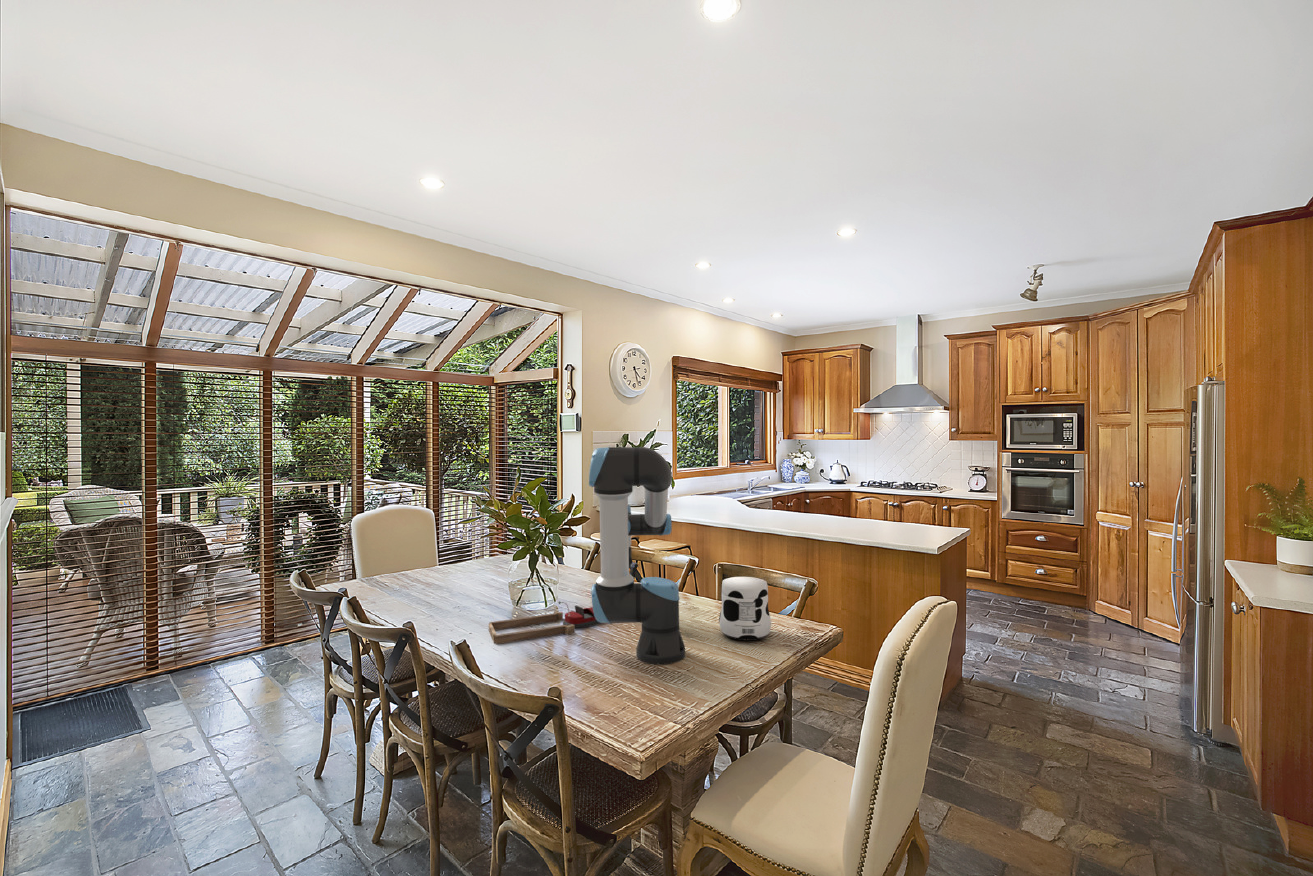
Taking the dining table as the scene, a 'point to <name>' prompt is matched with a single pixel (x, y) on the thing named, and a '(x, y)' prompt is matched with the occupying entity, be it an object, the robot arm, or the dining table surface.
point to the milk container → (745, 608)
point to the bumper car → (580, 617)
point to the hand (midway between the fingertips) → (622, 609)
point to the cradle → (529, 633)
